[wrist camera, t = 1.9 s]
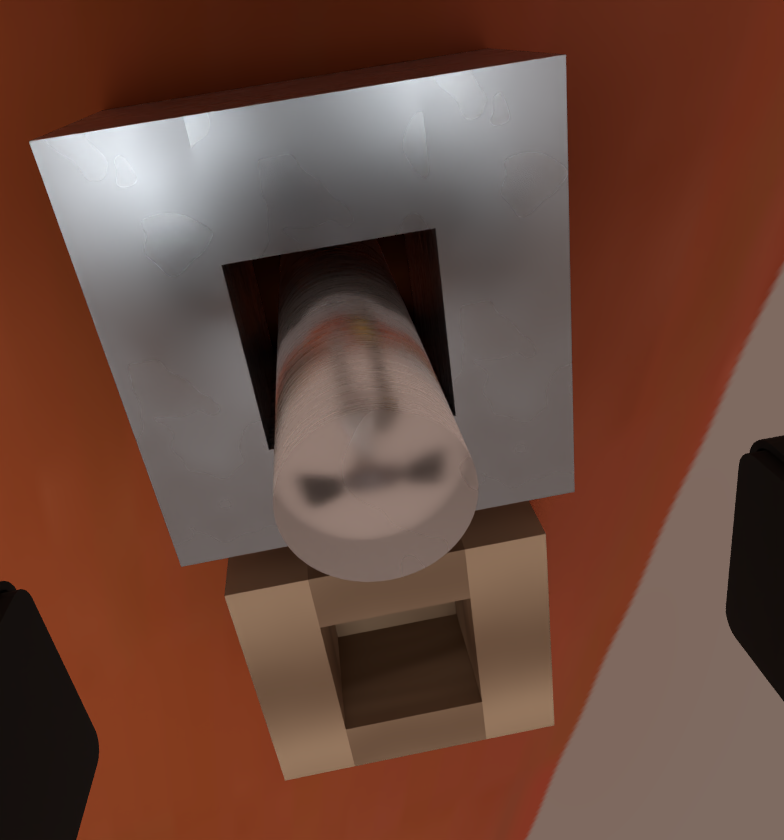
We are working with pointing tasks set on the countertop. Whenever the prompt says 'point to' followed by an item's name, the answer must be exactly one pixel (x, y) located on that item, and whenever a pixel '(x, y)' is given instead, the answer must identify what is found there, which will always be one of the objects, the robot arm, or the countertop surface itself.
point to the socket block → (315, 228)
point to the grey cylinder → (361, 424)
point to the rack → (399, 648)
